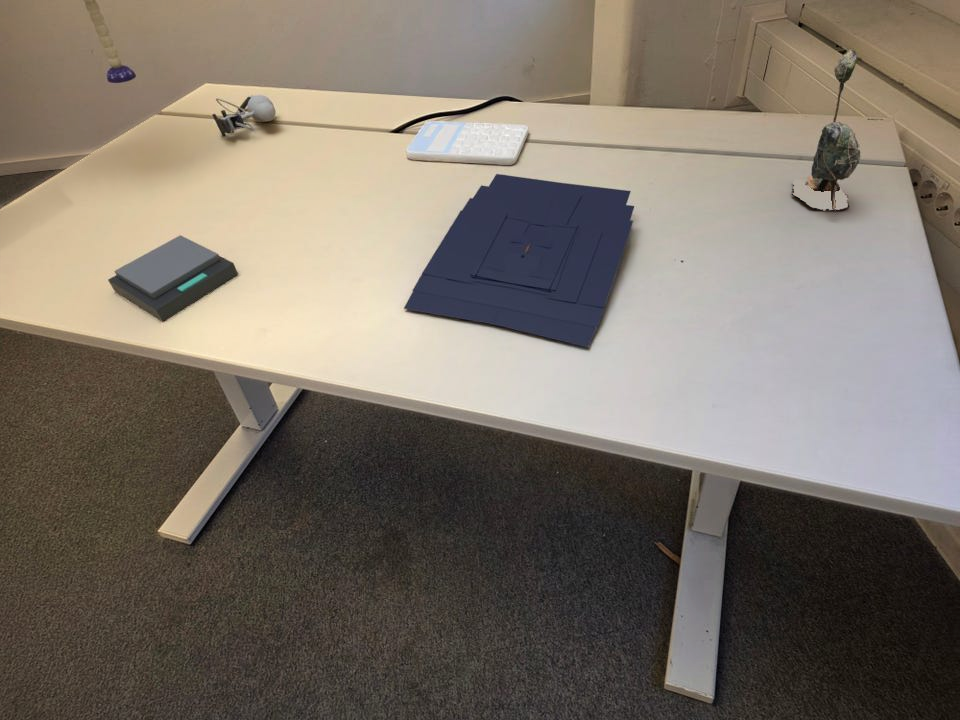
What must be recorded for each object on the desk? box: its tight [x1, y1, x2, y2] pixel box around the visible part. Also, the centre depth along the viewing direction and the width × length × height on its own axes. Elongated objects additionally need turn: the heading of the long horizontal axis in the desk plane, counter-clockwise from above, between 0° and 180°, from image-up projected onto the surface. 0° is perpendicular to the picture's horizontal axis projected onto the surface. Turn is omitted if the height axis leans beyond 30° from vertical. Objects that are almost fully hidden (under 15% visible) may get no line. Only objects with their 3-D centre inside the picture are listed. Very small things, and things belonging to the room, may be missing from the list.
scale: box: [107, 234, 239, 322], centre depth 83 cm, size 12×12×3 cm
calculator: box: [405, 120, 530, 166], centre depth 109 cm, size 13×20×2 cm, turn 76°
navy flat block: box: [403, 173, 635, 348], centre depth 82 cm, size 24×30×4 cm
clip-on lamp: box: [211, 94, 277, 137], centre depth 121 cm, size 12×6×18 cm
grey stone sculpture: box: [805, 49, 862, 209], centre depth 82 cm, size 8×11×20 cm
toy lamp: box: [83, 0, 137, 84], centre depth 92 cm, size 5×5×17 cm
